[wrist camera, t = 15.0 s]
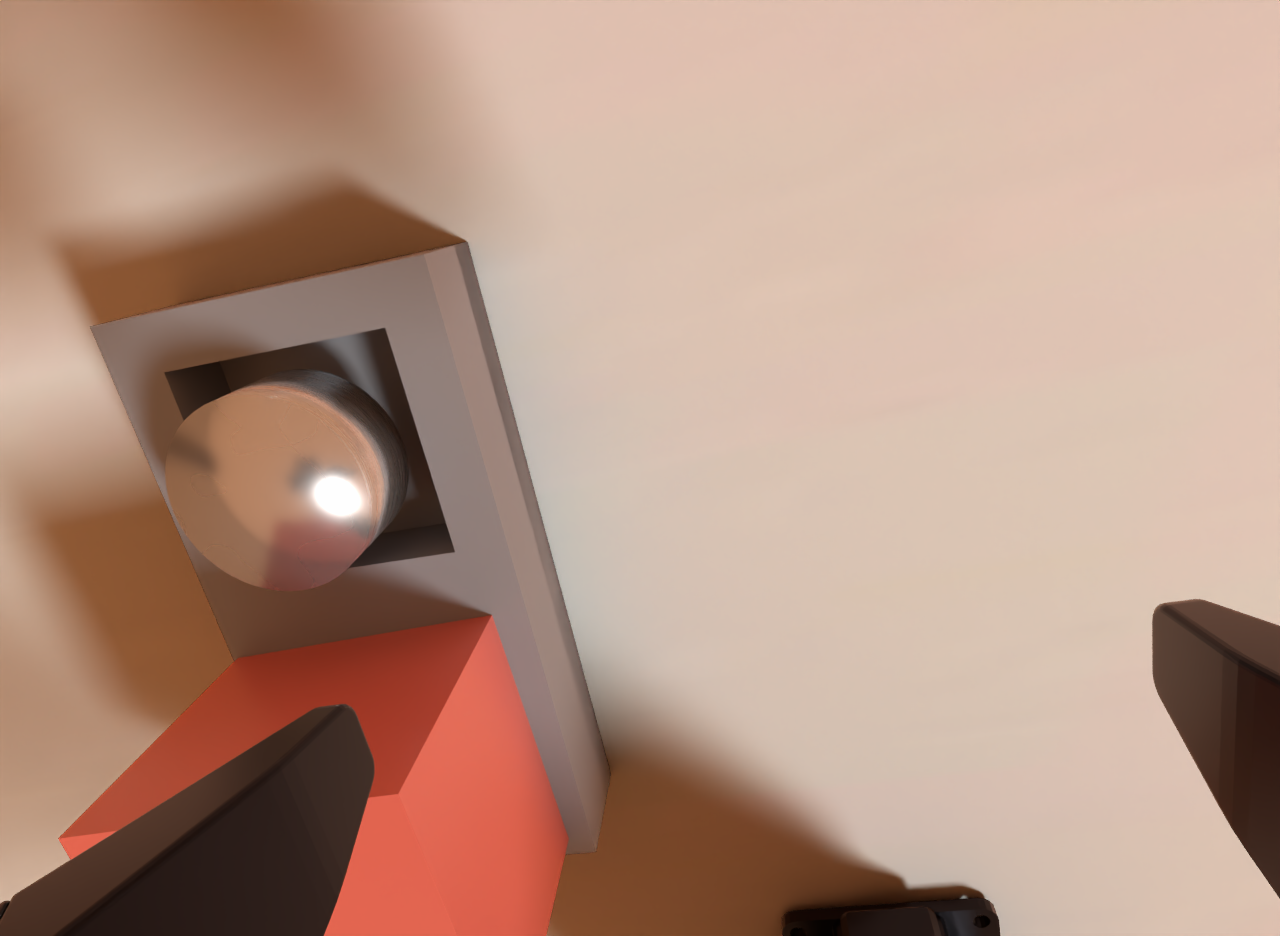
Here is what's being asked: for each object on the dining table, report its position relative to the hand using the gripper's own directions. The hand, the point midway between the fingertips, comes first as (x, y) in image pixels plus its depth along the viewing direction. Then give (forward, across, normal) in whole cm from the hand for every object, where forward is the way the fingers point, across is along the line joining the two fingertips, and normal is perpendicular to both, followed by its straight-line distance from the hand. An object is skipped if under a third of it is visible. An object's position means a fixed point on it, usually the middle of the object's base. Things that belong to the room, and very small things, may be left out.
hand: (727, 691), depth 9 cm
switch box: (+12, +10, +3) cm, 16 cm away
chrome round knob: (+9, +9, -1) cm, 13 cm away
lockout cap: (+9, +10, +7) cm, 15 cm away
